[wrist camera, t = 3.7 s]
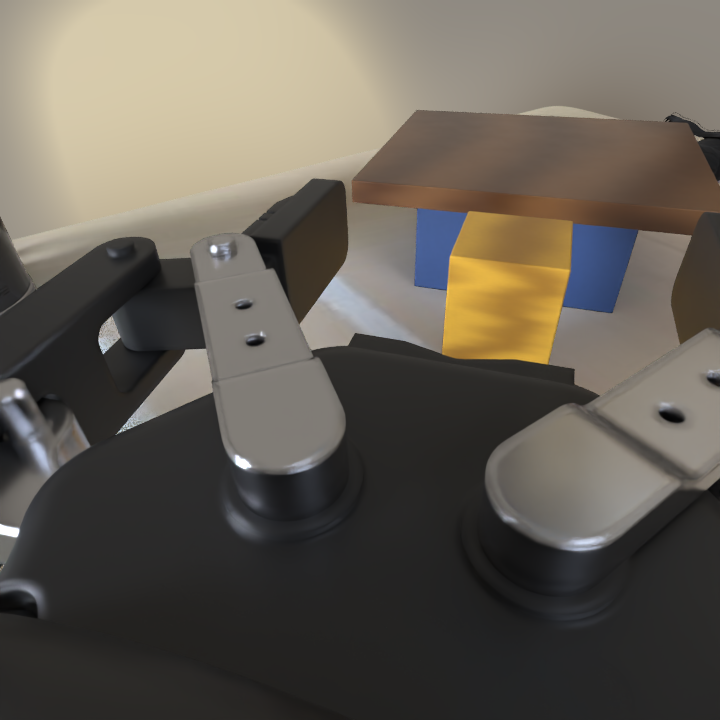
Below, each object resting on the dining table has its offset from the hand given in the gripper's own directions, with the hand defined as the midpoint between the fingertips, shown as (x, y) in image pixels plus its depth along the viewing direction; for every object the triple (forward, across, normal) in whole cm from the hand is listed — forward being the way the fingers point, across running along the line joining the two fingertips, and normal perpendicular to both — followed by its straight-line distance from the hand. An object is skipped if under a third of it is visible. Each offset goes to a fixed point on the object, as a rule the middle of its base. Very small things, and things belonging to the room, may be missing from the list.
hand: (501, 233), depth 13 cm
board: (+29, 0, +8) cm, 30 cm away
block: (+11, 0, +15) cm, 19 cm away
